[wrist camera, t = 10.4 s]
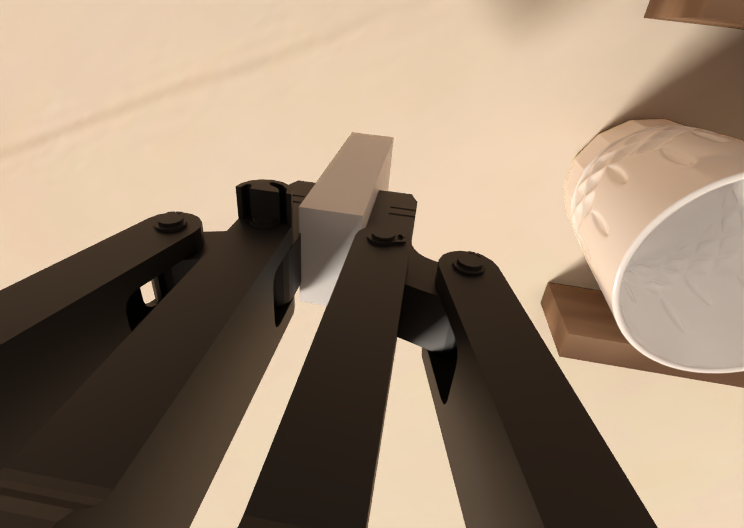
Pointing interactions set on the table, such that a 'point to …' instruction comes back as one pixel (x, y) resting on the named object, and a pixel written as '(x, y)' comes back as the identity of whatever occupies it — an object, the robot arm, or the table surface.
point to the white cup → (666, 238)
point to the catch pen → (588, 307)
